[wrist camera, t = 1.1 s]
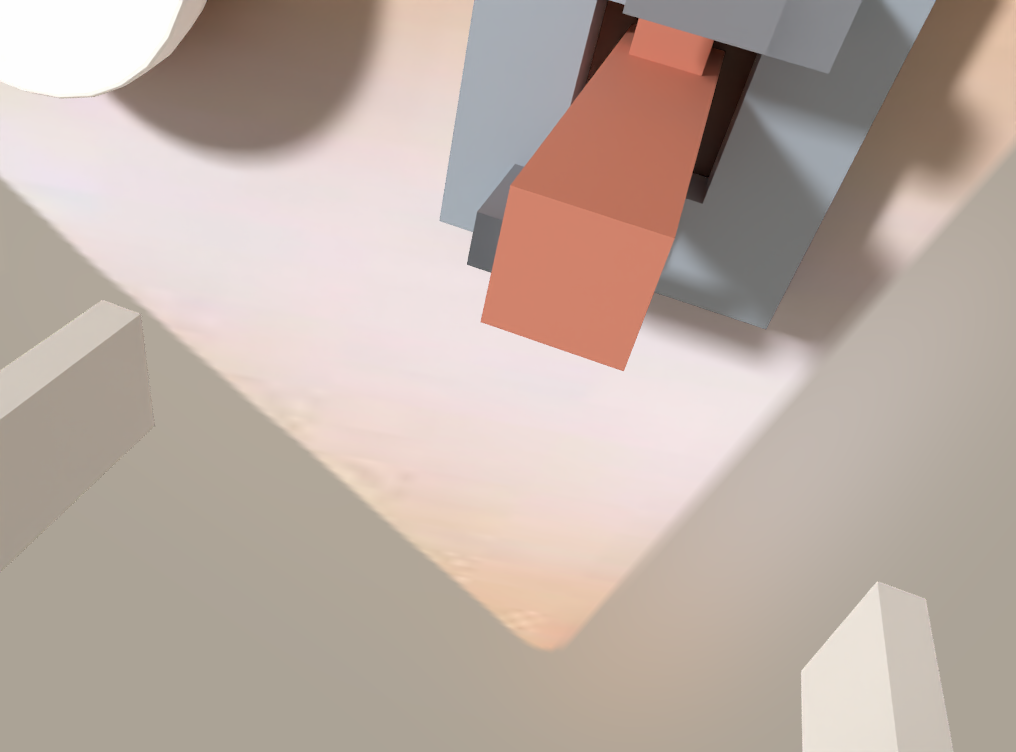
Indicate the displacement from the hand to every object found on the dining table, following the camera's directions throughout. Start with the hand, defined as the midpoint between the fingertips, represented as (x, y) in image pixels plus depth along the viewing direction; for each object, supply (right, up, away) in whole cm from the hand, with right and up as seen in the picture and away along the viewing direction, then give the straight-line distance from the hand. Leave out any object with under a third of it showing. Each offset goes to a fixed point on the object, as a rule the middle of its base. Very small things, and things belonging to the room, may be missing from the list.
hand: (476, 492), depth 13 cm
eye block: (+7, +15, +19) cm, 25 cm away
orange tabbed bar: (+7, +15, +19) cm, 25 cm away
